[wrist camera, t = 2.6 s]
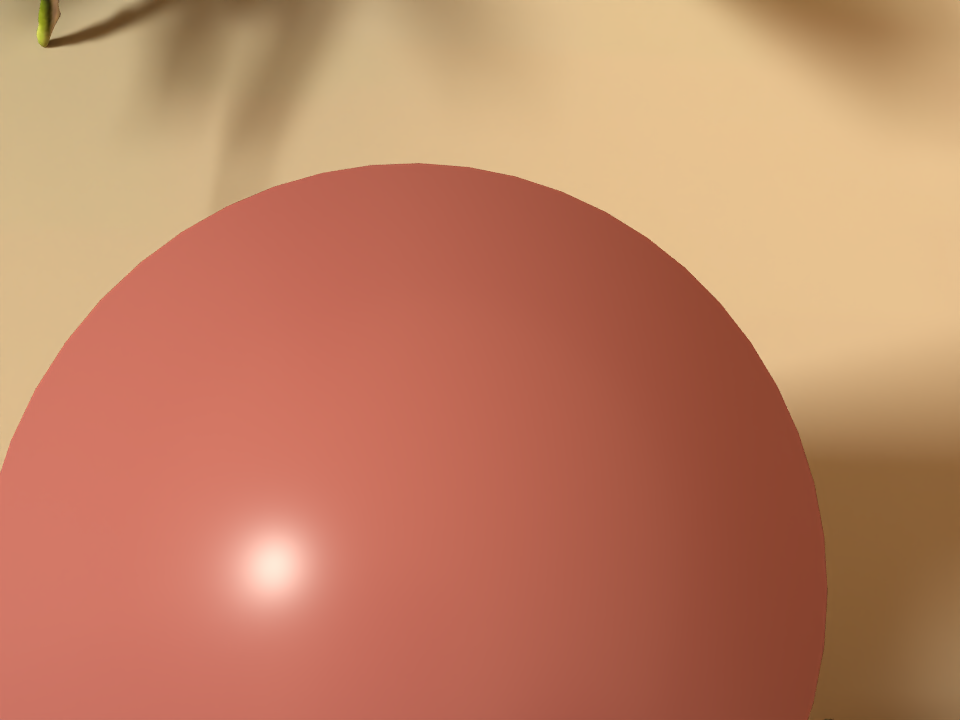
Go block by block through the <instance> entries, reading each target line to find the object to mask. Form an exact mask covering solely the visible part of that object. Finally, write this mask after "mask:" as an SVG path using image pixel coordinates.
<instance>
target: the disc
mask: <svg viewBox="0 0 960 720" xmlns="http://www.w3.org/2000/svg"><path fill="white" fill-rule="evenodd" d="M58 3H59V0H41V3H40V10H39V17H38V22H39V25H38V29H37V39H38V42H39V44H40V45H41V46H43V47H47V45H48V43H49V39H50V36H51V34H52V31H53V29H54V26H55V24H56V22H57V21H58V19H59V17H60V15H61V13H60V10H59V5H58Z"/></svg>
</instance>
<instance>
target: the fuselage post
mask: <svg viewBox="0 0 960 720" xmlns="http://www.w3.org/2000/svg"><path fill="white" fill-rule="evenodd" d="M826 605H827V576H826V560H825V544H824V534H823V528H822V523H821V517H820V512H819V507H818V501H817V496H816V490H815V485H814V481H813V478H812V475H811V472H810V469H809V465H808V462H807V459H806V456H805V453H804V449H803V446H802V443H801V440H800V437H799V433H798V431H797V429H796V427H795V425H794V422H793V420H792V418H791V416H790V413H789V411H788V409H787V407H786V405H785V402H784V400H783V398H782V396H781V394H780V391H779V389H778V387H777V385H776V383H775V382H774V380H773V378H772V377H771V375H770V373H769V372H768V370H767V368H766V367H765V365H764V364H763V362H762V360H761V359H760V357H759V355H758V354H757V352H756V350H755V349H754V347H753V345H752V344H751V342H750V341H749V340H748V338H747V337H746V336H745V334H744V333H743V332H742V331H741V329H740V328H739V327H738V325H737V324H736V323H735V322H734V320H733V319H732V318H731V316H730V315H729V314H728V313H727V311H726V310H725V309H724V307H723V306H722V305H721V304H720V303H719V302H718V301H717V300H716V299H715V297H714V296H713V295H712V294H711V293H710V292H709V291H708V290H707V289H706V288H705V287H704V286H703V285H702V284H701V283H700V282H699V281H698V280H697V279H696V278H695V277H694V276H693V275H692V274H691V273H690V272H689V271H688V270H687V269H686V268H685V267H683V266H682V265H681V264H680V263H678V262H677V261H676V260H675V259H673V258H672V257H671V256H670V255H668V254H667V253H666V252H665V251H663V250H662V249H661V248H659V247H658V246H657V245H656V244H654V243H653V242H652V241H651V240H649V239H648V238H647V237H645V236H644V235H642V234H640V233H639V232H637V231H636V230H634V229H632V228H631V227H629V226H627V225H626V224H624V223H623V222H621V221H619V220H618V219H616V218H614V217H613V216H611V215H610V214H608V213H606V212H604V211H602V210H600V209H598V208H596V207H594V206H592V205H589V204H587V203H585V202H583V201H581V200H579V199H576V198H574V197H572V196H570V195H568V194H566V193H564V192H561V191H558V190H555V189H552V188H549V187H546V186H543V185H540V184H537V183H534V182H531V181H528V180H524V179H521V178H518V177H515V176H510V175H505V174H500V173H495V172H490V171H485V170H480V169H475V168H470V167H460V166H447V165H435V164H422V163H416V164H390V165H370V166H363V167H357V168H351V169H345V170H338V171H332V172H326V173H321V174H317V175H314V176H310V177H307V178H303V179H300V180H296V181H293V182H289V183H285V184H282V185H278V186H275V187H272V188H270V189H267V190H265V191H263V192H260V193H258V194H255V195H253V196H251V197H248V198H246V199H244V200H241V201H239V202H236V203H234V204H232V205H229V206H227V207H225V208H223V209H222V210H220V211H218V212H216V213H215V214H213V215H211V216H209V217H207V218H206V219H204V220H202V221H200V222H199V223H197V224H195V225H193V226H192V227H190V228H188V229H186V230H185V231H183V232H181V233H180V234H179V235H177V236H176V237H174V238H173V239H172V240H170V241H169V242H168V243H166V244H165V245H164V246H162V247H161V248H160V249H158V250H157V251H155V252H154V253H153V254H151V255H150V256H149V257H147V258H146V259H145V260H143V261H142V262H141V263H139V264H138V265H137V266H136V267H135V268H134V269H133V270H132V271H131V272H130V273H129V274H128V275H127V276H126V277H125V278H123V279H122V280H121V281H120V282H119V283H118V284H117V285H116V286H115V287H114V288H113V289H112V290H111V291H110V292H109V293H108V294H106V295H105V296H104V297H103V298H102V299H101V300H100V301H99V303H98V304H97V305H96V306H95V307H94V309H93V310H92V311H91V312H90V313H89V315H88V316H87V317H86V318H85V319H84V321H83V322H82V323H81V324H80V326H79V327H78V328H77V329H76V330H75V332H74V333H73V334H72V335H71V336H70V338H69V339H68V340H67V341H66V342H65V344H64V346H63V347H62V349H61V350H60V352H59V353H58V355H57V357H56V358H55V360H54V361H53V363H52V364H51V366H50V367H49V369H48V371H47V372H46V374H45V375H44V377H43V378H42V380H41V381H40V383H39V385H38V386H37V388H36V389H35V392H34V394H33V396H32V398H31V400H30V402H29V404H28V406H27V408H26V410H25V412H24V415H23V417H22V419H21V421H20V423H19V425H18V427H17V429H16V431H15V433H14V435H13V438H12V440H11V442H10V445H9V448H8V451H7V455H6V458H5V461H4V464H3V467H2V470H1V473H0V720H808V718H809V715H810V712H811V709H812V706H813V702H814V697H815V692H816V687H817V681H818V676H819V671H820V665H821V660H822V655H823V649H824V638H825V622H826Z"/></svg>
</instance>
